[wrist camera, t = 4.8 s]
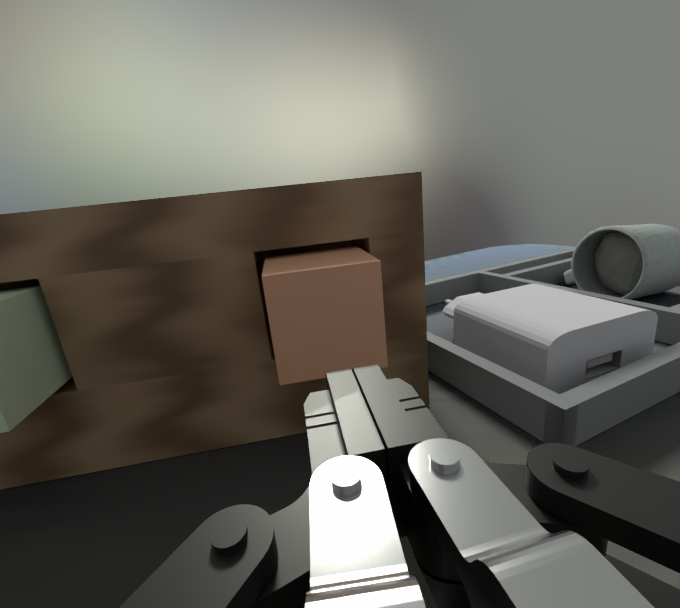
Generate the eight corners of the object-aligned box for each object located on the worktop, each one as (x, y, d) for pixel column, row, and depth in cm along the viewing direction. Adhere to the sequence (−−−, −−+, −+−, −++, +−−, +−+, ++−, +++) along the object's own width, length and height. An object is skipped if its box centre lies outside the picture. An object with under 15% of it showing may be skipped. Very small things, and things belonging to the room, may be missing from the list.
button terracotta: (279, 385, 16) (261, 276, 15) (279, 343, 21) (265, 257, 20) (387, 367, 17) (380, 260, 15) (363, 330, 22) (356, 246, 20)
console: (-77, 503, 19) (-223, 237, 15) (23, 417, 27) (-56, 224, 23) (429, 409, 23) (421, 171, 19) (391, 356, 30) (379, 179, 26)
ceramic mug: (697, 296, 36) (711, 217, 34) (639, 312, 34) (650, 228, 32) (594, 279, 46) (600, 216, 44) (543, 290, 44) (547, 225, 42)
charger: (491, 313, 38) (650, 373, 25) (414, 332, 36) (544, 410, 22) (492, 269, 37) (661, 306, 23) (412, 285, 34) (549, 337, 21)
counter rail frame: (560, 453, 18) (565, 409, 17) (350, 321, 39) (348, 299, 39) (844, 305, 31) (853, 276, 30) (570, 266, 52) (572, 248, 51)
